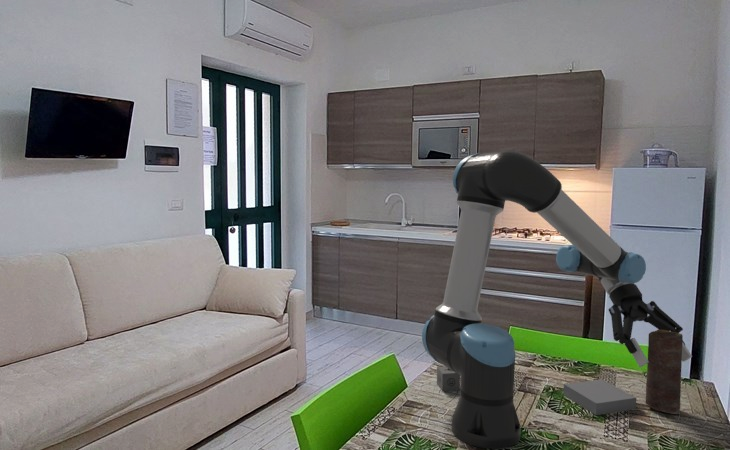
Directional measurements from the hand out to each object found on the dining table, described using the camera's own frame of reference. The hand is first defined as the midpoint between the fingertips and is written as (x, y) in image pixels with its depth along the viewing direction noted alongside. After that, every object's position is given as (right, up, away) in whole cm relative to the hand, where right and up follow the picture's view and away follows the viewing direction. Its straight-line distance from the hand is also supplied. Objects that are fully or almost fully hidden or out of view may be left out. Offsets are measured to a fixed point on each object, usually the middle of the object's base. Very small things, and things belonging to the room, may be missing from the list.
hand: (666, 362), depth 120 cm
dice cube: (-52, -11, +14) cm, 55 cm away
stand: (-14, -12, +5) cm, 19 cm away
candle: (-1, -12, +1) cm, 12 cm away
